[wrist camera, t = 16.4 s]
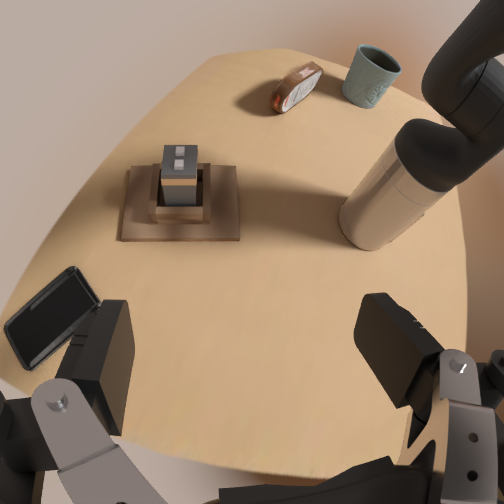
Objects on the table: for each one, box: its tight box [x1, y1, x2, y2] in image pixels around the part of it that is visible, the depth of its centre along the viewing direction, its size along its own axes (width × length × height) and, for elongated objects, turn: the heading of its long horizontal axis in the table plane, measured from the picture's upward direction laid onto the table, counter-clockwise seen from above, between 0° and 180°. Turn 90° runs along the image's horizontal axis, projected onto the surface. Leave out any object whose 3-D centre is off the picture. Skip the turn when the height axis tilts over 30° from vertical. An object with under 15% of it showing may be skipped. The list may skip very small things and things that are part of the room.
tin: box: [269, 61, 323, 113], centre depth 52 cm, size 15×3×8 cm, turn 143°
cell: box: [161, 145, 198, 207], centre depth 38 cm, size 4×5×10 cm
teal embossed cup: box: [342, 44, 402, 108], centre depth 55 cm, size 10×10×12 cm
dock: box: [121, 163, 240, 242], centre depth 42 cm, size 16×12×4 cm
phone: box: [4, 266, 102, 371], centre depth 34 cm, size 8×1×15 cm
